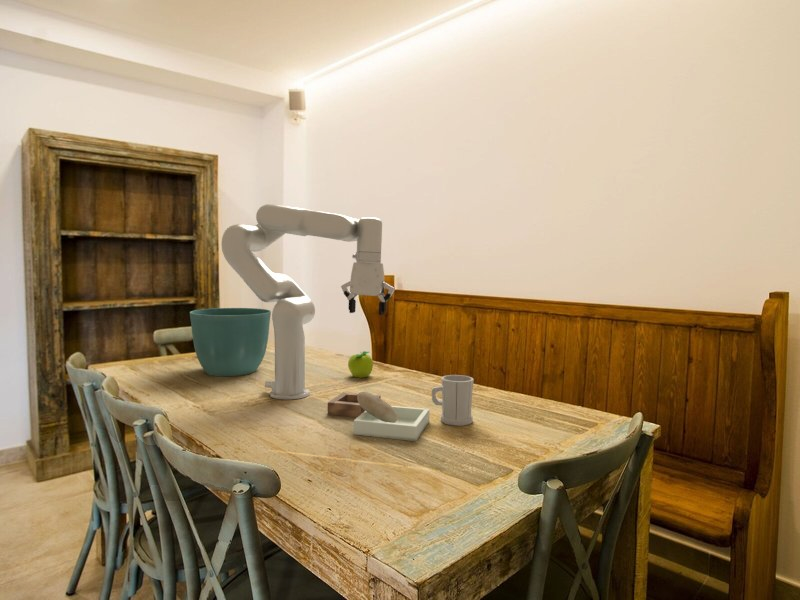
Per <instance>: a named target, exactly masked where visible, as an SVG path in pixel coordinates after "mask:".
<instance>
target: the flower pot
mask: <svg viewBox="0 0 800 600" xmlns="http://www.w3.org/2000/svg"><path fill="white" fill-rule="evenodd" d="M271 317H272V311H271V310H270V309H266V308H265V309H264V308H251V307H250V308H249V307H219V308H218V307H217V308H202V309H195V310H192V311H189V318H190V319H189V320H190V324H191V325H190V326H191V334H192V342H193V346H194V351H195V355H196V358H197V359H198V362H199V364H200V366H201V368H202V369H203V370H204V371H205V373H206V374H207V375H210V376H213V377H214V376H217V377H237V375H238V376H244V374H245V375H248V374H253V373H255V372H256V371H257V370H258V369H259V367H260V365H261V364H262V362H263V361H264V357H265V355H266V352H267V347H268V342H269V341H268V340H269V334H270V333H269V332H270V323H271ZM254 371H255V372H254ZM252 372H253V373H252Z"/></svg>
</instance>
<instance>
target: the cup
mask: <svg viewBox="0 0 800 600" xmlns="http://www.w3.org/2000/svg"><path fill="white" fill-rule="evenodd" d="M474 380H475V379H474V378H473V377H471V376H469V375H463V374H462V375H461V374H460V375H459V374H450V375H449V374H448V375H444V376H442V377H440V381H441V385H438V386H434V387H432V389H431V401H432V403H433V404H434V405H435V406H441V408H442V410H441V414H440V421H441V423H442V424H446V425H447V426H456V427H462V426H463V427H464V426H468V425H470V424H472V423H473V421H474V417H473V415H472V405H473V404H472V403H473V400H472V399H473V389H474V382H475V381H474ZM438 392H441V399H442V400H440V399H438V397H437V395H436V394H437V393H438Z"/></svg>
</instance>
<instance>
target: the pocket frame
mask: <svg viewBox="0 0 800 600" xmlns="http://www.w3.org/2000/svg"><path fill="white" fill-rule="evenodd" d="M358 394H359V393H356V392H355V393H353V392H342V393H340V394H338V395H337V396H335V397H334V398H331V400H329V401H328V402H327V415H329V416H331V415H332V416H341V417H350V418H357V417H358V416H360V415H361V414H362V413H363V412H365V410H364V409H363V408H362V407H361V406H360V404H359V403H358V400H357V396H358ZM374 395H375V396H377V397H379V398H380V399H382V397H381V395H379V394H374Z"/></svg>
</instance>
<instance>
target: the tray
mask: <svg viewBox="0 0 800 600" xmlns="http://www.w3.org/2000/svg"><path fill="white" fill-rule="evenodd" d="M391 406H392V407H393V408H394V409H395V411H396V412H397V415H398V420H397V421H396V422H395V423H390V422H384V421H382V420H380V419H378V418H376V417H374V416H372V415H371V414H369V413H368V412H367V411H365V412H363V413H362V414H361V415H360V416H358V417H355V419H354V420H353V435H355V436H362V437H364V436H365V437H373V438H382V439H393V440H402V441H411V442H417V441H418V439H419V438H420V436H421V435H422V434H423V432H424V430H425V429H426V427H427V426H428V425H429V423H430V408H423V407H412V406H399V405H391Z"/></svg>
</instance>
